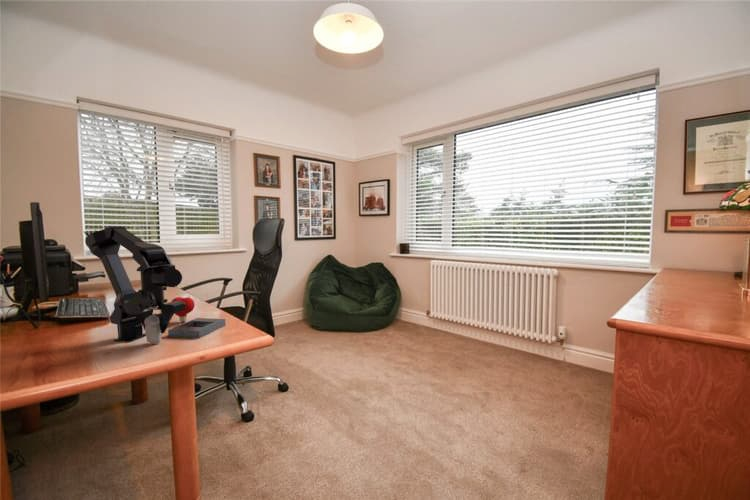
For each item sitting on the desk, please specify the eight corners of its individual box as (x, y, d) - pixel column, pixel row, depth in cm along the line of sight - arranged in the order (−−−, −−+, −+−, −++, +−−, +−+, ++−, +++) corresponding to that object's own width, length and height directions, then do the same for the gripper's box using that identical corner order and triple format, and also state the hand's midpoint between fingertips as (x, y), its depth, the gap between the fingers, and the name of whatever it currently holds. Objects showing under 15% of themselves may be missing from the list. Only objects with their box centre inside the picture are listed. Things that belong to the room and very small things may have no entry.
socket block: (168, 336, 108) (168, 329, 108) (197, 324, 122) (197, 318, 122) (199, 338, 106) (199, 331, 106) (225, 325, 120) (225, 319, 120)
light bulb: (166, 324, 122) (164, 299, 121) (180, 319, 129) (178, 295, 128) (187, 325, 120) (185, 299, 120) (200, 320, 127) (198, 295, 127)
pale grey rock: (158, 339, 105) (156, 310, 104) (168, 340, 105) (166, 310, 104) (143, 346, 99) (141, 315, 99) (153, 347, 99) (151, 315, 98)
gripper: (102, 289, 94) (106, 340, 95) (156, 291, 91) (160, 343, 92) (136, 283, 105) (139, 328, 106) (185, 284, 102) (188, 330, 103)
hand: (155, 332), depth 102 cm, fingers open, 5 cm apart
